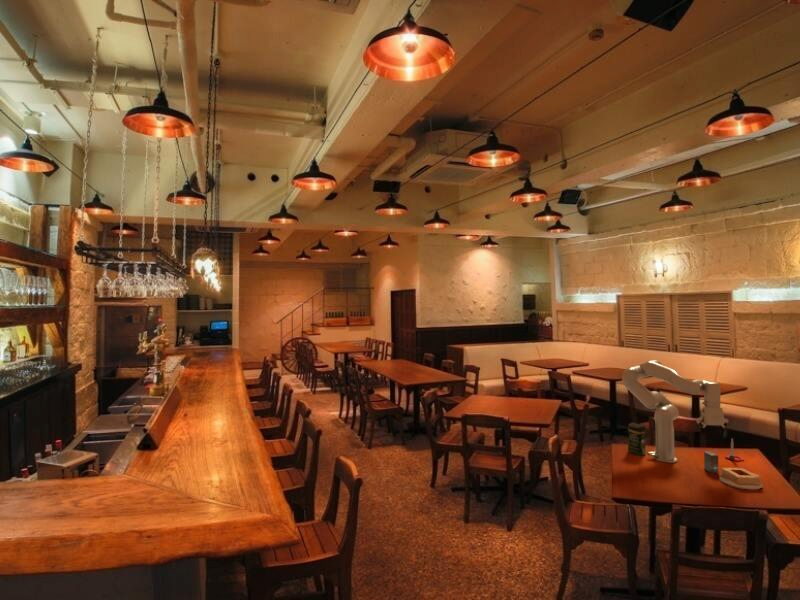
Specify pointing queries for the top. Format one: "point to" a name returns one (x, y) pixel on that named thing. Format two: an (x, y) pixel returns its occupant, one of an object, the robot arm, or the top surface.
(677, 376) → the robot arm
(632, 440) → the coffee jar
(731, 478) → the beige piece
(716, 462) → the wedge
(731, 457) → the tow hook
